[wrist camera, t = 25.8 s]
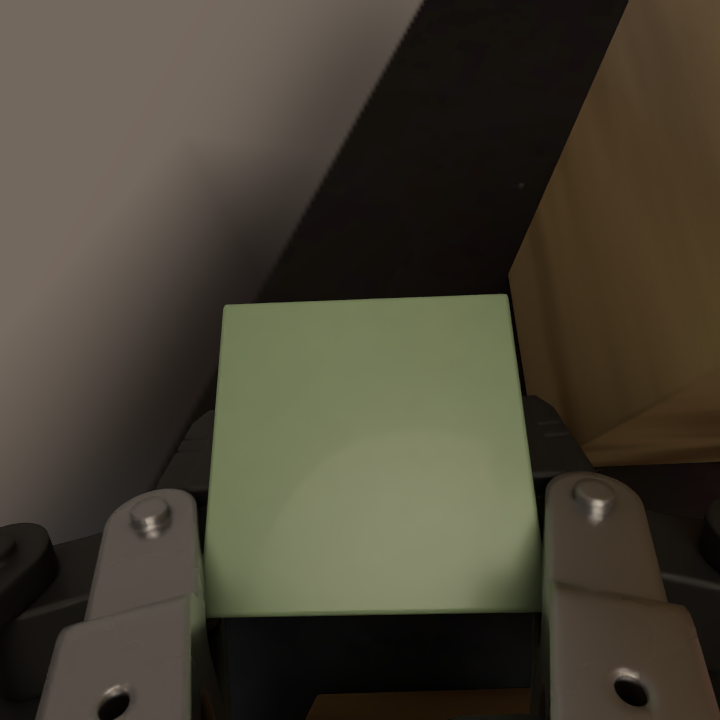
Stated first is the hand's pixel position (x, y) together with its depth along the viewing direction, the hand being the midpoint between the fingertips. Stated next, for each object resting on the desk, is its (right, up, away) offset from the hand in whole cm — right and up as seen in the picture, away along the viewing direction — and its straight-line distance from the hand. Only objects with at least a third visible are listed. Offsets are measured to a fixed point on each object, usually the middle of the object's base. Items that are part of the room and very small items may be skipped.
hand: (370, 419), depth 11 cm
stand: (+7, +1, +3) cm, 8 cm away
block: (0, -2, +2) cm, 3 cm away
